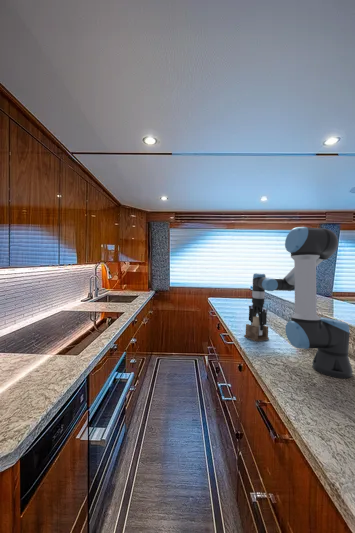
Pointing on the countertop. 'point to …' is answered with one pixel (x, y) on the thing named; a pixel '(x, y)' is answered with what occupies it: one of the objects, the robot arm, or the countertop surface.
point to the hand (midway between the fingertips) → (256, 333)
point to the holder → (256, 333)
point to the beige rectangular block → (256, 322)
